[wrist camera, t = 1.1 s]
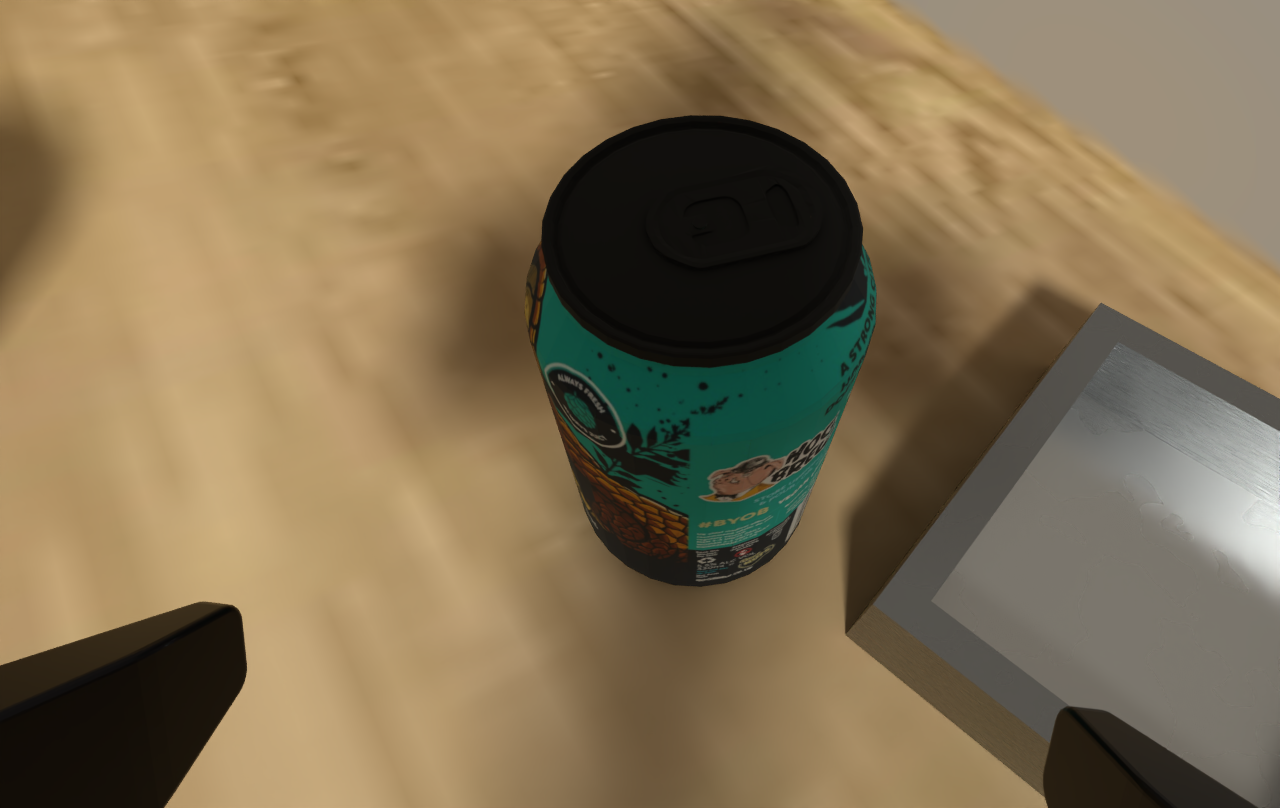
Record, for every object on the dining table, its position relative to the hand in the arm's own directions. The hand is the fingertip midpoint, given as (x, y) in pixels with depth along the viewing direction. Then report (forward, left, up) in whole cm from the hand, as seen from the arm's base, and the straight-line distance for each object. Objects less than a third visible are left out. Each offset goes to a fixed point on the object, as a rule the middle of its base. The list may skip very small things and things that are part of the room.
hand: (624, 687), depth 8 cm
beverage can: (+8, -2, -14) cm, 16 cm away
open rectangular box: (+2, -14, -13) cm, 20 cm away
